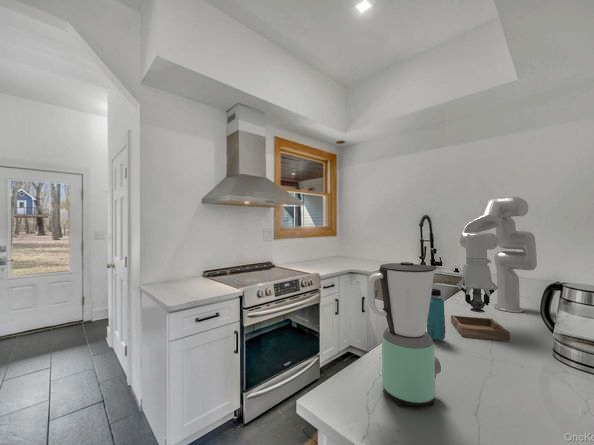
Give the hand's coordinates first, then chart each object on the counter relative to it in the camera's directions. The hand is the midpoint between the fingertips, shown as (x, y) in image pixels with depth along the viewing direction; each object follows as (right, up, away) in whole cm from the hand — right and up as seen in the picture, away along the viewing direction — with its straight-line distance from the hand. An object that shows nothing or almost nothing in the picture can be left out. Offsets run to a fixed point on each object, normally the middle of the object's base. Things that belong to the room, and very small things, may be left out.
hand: (477, 303), depth 113 cm
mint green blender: (-49, -11, -43) cm, 66 cm away
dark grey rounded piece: (0, -3, 0) cm, 3 cm away
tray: (0, -12, 0) cm, 12 cm away
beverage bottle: (-23, -12, -9) cm, 27 cm away
